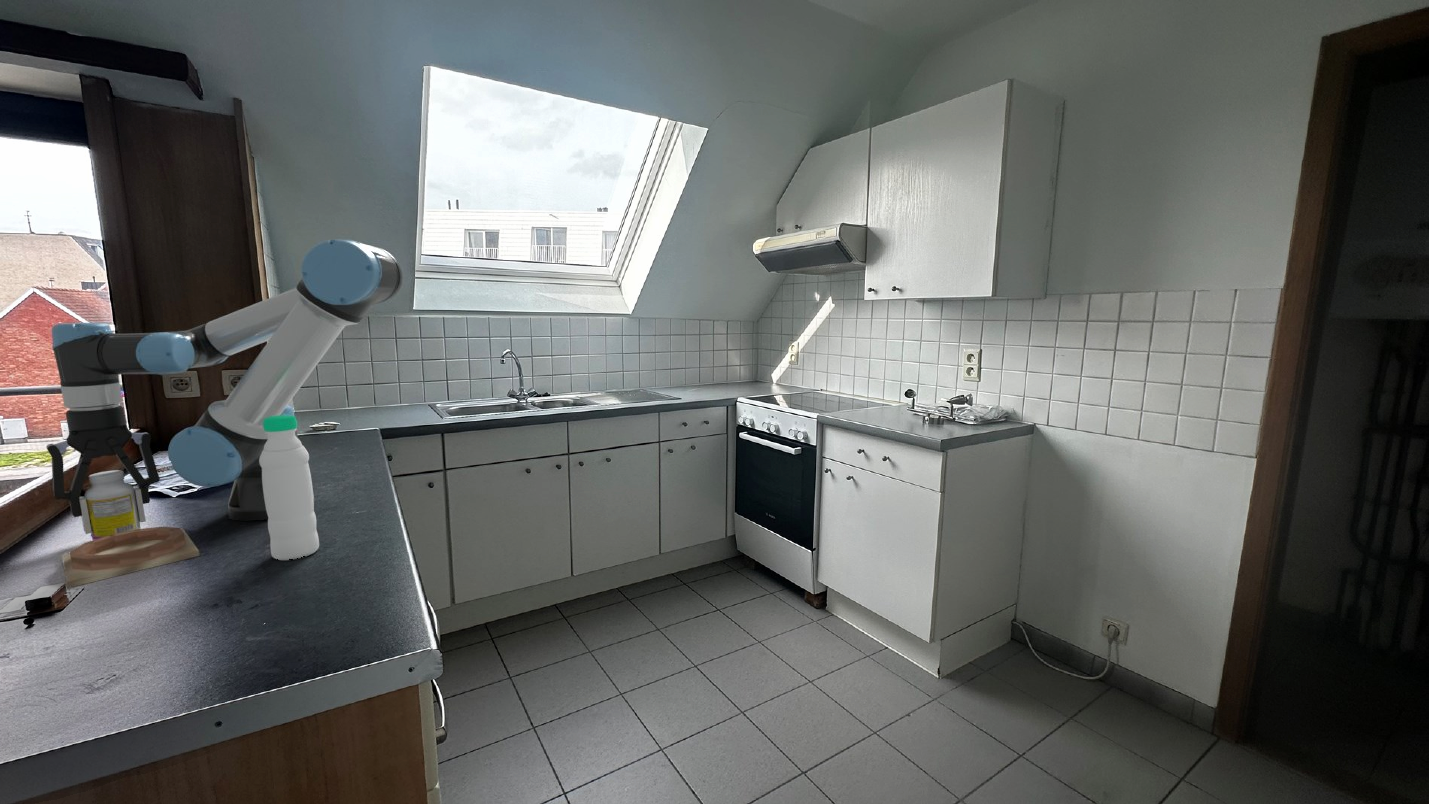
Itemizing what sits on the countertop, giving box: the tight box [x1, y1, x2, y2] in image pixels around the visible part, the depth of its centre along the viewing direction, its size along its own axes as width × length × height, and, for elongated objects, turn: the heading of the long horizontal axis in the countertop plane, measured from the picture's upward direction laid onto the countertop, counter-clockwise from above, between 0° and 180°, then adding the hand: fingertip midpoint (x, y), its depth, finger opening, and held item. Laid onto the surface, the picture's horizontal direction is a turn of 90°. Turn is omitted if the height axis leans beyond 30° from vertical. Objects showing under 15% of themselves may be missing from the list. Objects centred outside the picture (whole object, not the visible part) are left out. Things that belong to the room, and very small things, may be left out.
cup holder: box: [61, 526, 200, 588], centre depth 105 cm, size 16×16×3 cm
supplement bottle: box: [84, 469, 142, 541], centre depth 113 cm, size 7×7×13 cm
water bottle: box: [259, 415, 320, 561], centre depth 105 cm, size 7×7×25 cm
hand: (115, 525), depth 113 cm, fingers closed on supplement bottle, 7 cm apart
